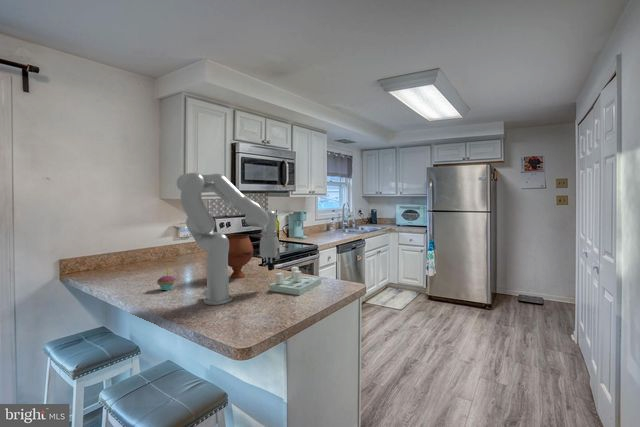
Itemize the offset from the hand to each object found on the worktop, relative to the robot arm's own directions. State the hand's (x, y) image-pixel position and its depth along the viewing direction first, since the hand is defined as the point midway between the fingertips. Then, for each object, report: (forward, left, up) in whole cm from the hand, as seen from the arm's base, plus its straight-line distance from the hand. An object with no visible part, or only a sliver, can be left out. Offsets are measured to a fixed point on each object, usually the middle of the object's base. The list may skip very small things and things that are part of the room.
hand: (271, 269), depth 170 cm
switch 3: (+12, +7, -6) cm, 15 cm away
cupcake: (-48, -25, -10) cm, 55 cm away
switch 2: (+6, +14, -6) cm, 17 cm away
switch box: (+11, +7, -10) cm, 16 cm away
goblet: (-32, +11, -10) cm, 35 cm away
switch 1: (+6, -1, -6) cm, 8 cm away
